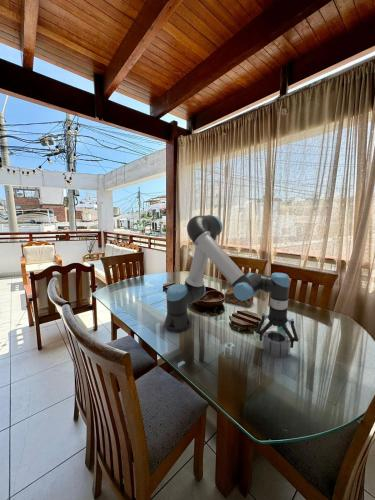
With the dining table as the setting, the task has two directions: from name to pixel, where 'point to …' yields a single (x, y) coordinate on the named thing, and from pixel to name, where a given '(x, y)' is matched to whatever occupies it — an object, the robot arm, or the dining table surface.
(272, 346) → the ring
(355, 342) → the dining table surface
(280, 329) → the block
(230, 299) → the bread
